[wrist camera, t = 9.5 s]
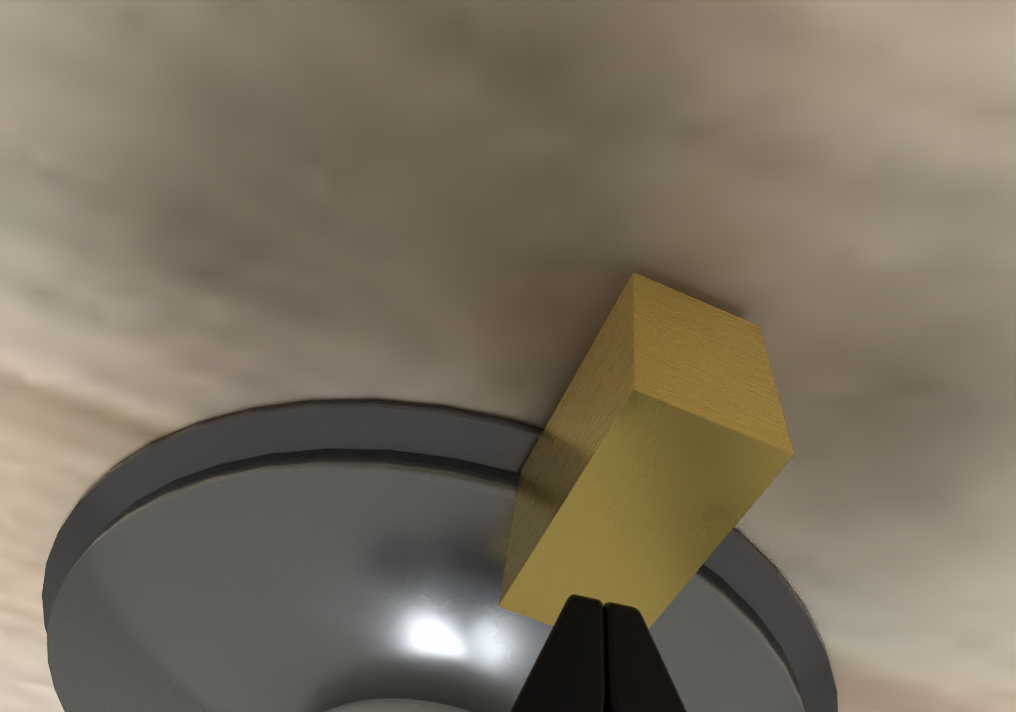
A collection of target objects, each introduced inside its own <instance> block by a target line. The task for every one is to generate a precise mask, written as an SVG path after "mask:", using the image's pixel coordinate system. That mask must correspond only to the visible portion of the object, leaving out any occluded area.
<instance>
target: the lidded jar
mask: <svg viewBox="0 0 1016 712" xmlns="http://www.w3.org/2000/svg"><path fill="white" fill-rule="evenodd" d="M324 712H470V711H467V710H464V709H461V708H458V707H454V706H449V705H445V704H440V703H436V702H430V701H423V700H415V699H399V698H382V699H367V700H362V701H356V702H351V703H347V704H343V705H340V706H337V707H334V708H331V709H329V710H327V711H324Z"/></svg>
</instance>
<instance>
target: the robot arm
mask: <svg viewBox="0 0 1016 712" xmlns="http://www.w3.org/2000/svg"><path fill="white" fill-rule="evenodd" d="M510 712H687V711H686V708H685V706H684V704H683V702H682V700H681V698H680V695H679V693H678V691H677V689H676V687H675V685H674V683H673V680H672V678H671V676H670V674H669V672H668V670H667V668H666V665H665V663H664V661H663V659H662V657H661V655H660V653H659V650H658V648H657V646H656V644H655V642H654V640H653V638H652V635H651V633H650V631H649V629H648V627H647V625H646V623H645V620H644V618H643V616H642V614H641V612H640V611H639V610H638V609H637V608H635V607H632V606H627V605H623V604H618V603H613V602H607V603H605V604H604V605H603V603H602V602H601V601H600V600H598V599H595V598H590V597H585V596H581V595H576V594H572V595H570V596H569V597H568V599H567V600H566V602H565V604H564V606H563V608H562V610H561V612H560V614H559V616H558V618H557V620H556V622H555V624H554V626H553V628H552V630H551V632H550V634H549V636H548V638H547V640H546V642H545V644H544V645H543V647H542V649H541V651H540V653H539V655H538V657H537V659H536V661H535V663H534V665H533V667H532V669H531V671H530V673H529V675H528V677H527V679H526V681H525V683H524V685H523V687H522V689H521V691H520V693H519V694H518V696H517V698H516V700H515V702H514V704H513V706H512V708H511V710H510Z"/></svg>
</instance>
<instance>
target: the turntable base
mask: <svg viewBox="0 0 1016 712" xmlns="http://www.w3.org/2000/svg"><path fill="white" fill-rule="evenodd" d="M543 431H544V430H542V429H539V428H536V427H533V426H529V425H526V424H523V423H520V422H516V421H513V420H509V419H504V418H499V417H494V416H489V415H484V414H479V413H474V412H469V411H464V410H459V409H454V408H449V407H444V406H434V405H423V404H413V403H402V402H391V401H381V400H346V401H307V402H300V403H292V404H285V405H277V406H269V407H262V408H254V409H249V410H245V411H241V412H238V413H234V414H230V415H226V416H222V417H219V418H215V419H211V420H207V421H203V422H200V423H197V424H194V425H192V426H190V427H187V428H185V429H182V430H180V431H178V432H175V433H173V434H171V435H168V436H166V437H164V438H161V439H159V440H157V441H154V442H152V443H150V444H149V445H147V446H146V447H144V448H143V449H141V450H139V451H138V452H136V453H135V454H133V455H132V456H130V457H128V458H127V459H125V460H124V461H122V462H121V463H119V464H118V465H116V466H114V467H113V468H112V469H111V470H110V471H109V472H108V473H107V474H106V475H105V476H104V477H103V478H102V479H101V480H100V481H99V482H98V483H96V484H95V485H94V486H93V487H92V488H91V489H90V490H89V491H88V492H87V493H86V494H85V495H84V496H83V498H82V499H81V500H80V501H79V502H78V504H77V505H76V507H75V508H74V510H73V511H72V513H71V514H70V516H69V517H68V519H67V520H66V522H65V523H64V524H63V526H62V527H61V529H60V530H59V532H58V534H57V537H56V539H55V542H54V544H53V547H52V550H51V552H50V555H49V558H48V560H47V563H46V569H45V577H44V584H43V591H42V600H43V612H44V624H45V629H46V632H47V630H48V625H49V620H50V616H51V611H52V606H53V603H54V601H55V599H56V596H57V594H58V592H59V590H60V588H61V586H62V584H63V582H64V580H65V578H66V576H67V575H68V573H69V572H70V571H71V569H72V568H73V567H74V565H75V564H76V563H77V561H78V560H79V559H80V557H81V556H82V555H83V553H84V552H85V551H86V549H87V548H88V547H89V546H90V545H91V543H92V542H93V541H94V540H95V538H96V537H97V536H98V535H99V534H100V532H101V531H102V530H103V529H104V527H105V526H106V525H107V524H108V523H109V522H110V521H112V520H113V519H114V518H115V517H117V516H118V515H119V514H120V513H122V512H123V511H124V510H125V509H127V508H128V507H129V506H130V505H132V504H133V503H134V502H135V501H137V500H138V499H140V498H142V497H144V496H146V495H148V494H149V493H151V492H153V491H155V490H157V489H159V488H161V487H162V486H164V485H166V484H168V483H170V482H172V481H173V480H176V479H179V478H182V477H184V476H187V475H190V474H193V473H196V472H198V471H201V470H204V469H207V468H210V467H213V466H215V465H218V464H222V463H227V462H232V461H237V460H241V459H246V458H251V457H256V456H261V455H265V454H270V453H281V452H292V451H304V450H315V449H327V448H332V449H378V450H395V451H403V452H411V453H419V454H427V455H435V456H443V457H451V458H456V459H460V460H465V461H469V462H474V463H478V464H483V465H487V466H491V467H496V468H500V469H505V470H509V471H513V472H517V473H521V470H522V468H523V466H524V464H525V463H526V461H527V459H528V457H529V456H530V454H531V452H532V450H533V448H534V447H535V445H536V443H537V441H538V440H539V438H540V436H541V434H542V433H543ZM703 564H704V565H706V566H707V567H708V568H710V569H711V570H712V571H714V572H715V573H716V574H718V575H719V576H720V577H722V578H723V579H724V580H725V581H726V582H727V583H728V584H729V585H730V586H731V587H732V588H733V589H734V590H735V591H736V592H737V593H738V594H739V595H740V596H741V597H742V598H743V599H744V600H745V601H746V602H747V603H748V604H749V605H750V606H751V607H752V608H753V609H754V610H755V611H756V612H757V614H758V615H759V617H760V618H761V619H762V621H763V622H764V623H765V625H766V626H767V628H768V629H769V630H770V632H771V633H772V634H773V636H774V637H775V638H776V640H777V641H778V643H779V644H780V645H781V647H782V649H783V651H784V653H785V655H786V657H787V659H788V661H789V663H790V666H791V668H792V670H793V672H794V674H795V676H796V678H797V680H798V684H799V688H800V692H801V696H802V700H803V704H804V708H805V712H838V707H837V690H836V686H835V682H834V678H833V674H832V671H831V667H830V663H829V659H828V656H827V652H826V648H825V645H824V642H823V640H822V638H821V636H820V634H819V632H818V630H817V628H816V626H815V625H814V623H813V621H812V619H811V617H810V615H809V613H808V611H807V609H806V607H805V605H804V604H803V603H802V601H801V600H800V599H799V597H798V596H797V595H796V593H795V592H794V591H793V589H792V588H791V587H790V585H789V584H788V583H787V581H786V580H785V579H784V577H783V576H782V575H781V573H780V572H779V571H778V569H777V568H776V567H775V566H774V565H773V564H772V563H771V562H770V561H769V560H768V559H767V558H766V557H765V556H764V555H762V554H761V553H760V552H759V551H758V550H757V549H756V548H755V547H754V546H753V545H752V544H751V543H750V542H749V541H748V540H747V539H746V538H745V537H744V536H743V535H742V534H741V533H740V532H739V531H737V530H736V529H735V528H733V529H732V530H731V531H730V532H729V533H728V535H727V536H726V537H725V538H724V539H723V541H722V542H721V543H720V544H719V545H718V547H717V548H716V549H715V550H714V551H713V553H712V554H711V555H710V556H709V557H708V559H707V560H706V561H705V562H704V563H703Z"/></svg>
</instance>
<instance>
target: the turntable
mask: <svg viewBox="0 0 1016 712" xmlns="http://www.w3.org/2000/svg"><path fill="white" fill-rule="evenodd" d="M793 456H794V453H793V449H792V445H791V441H790V438H789V434H788V430H787V426H786V423H785V419H784V415H783V412H782V408H781V404H780V400H779V397H778V393H777V389H776V385H775V382H774V378H773V374H772V371H771V367H770V363H769V359H768V356H767V352H766V348H765V345H764V341H763V337H762V333H761V330H760V326H758V325H756V324H754V323H751V322H749V321H747V320H744V319H742V318H740V317H737V316H735V315H733V314H730V313H728V312H726V311H723V310H721V309H719V308H716V307H714V306H712V305H709V304H707V303H704V302H702V301H700V300H697V299H695V298H693V297H690V296H688V295H686V294H683V293H681V292H679V291H676V290H674V289H672V288H669V287H667V286H665V285H662V284H660V283H658V282H655V281H653V280H651V279H648V278H646V277H643V276H641V275H639V274H636V273H634V272H633V273H632V275H631V277H630V278H629V280H628V282H627V284H626V286H625V287H624V289H623V291H622V293H621V294H620V296H619V298H618V300H617V301H616V303H615V305H614V307H613V309H612V310H611V312H610V314H609V316H608V317H607V319H606V321H605V323H604V324H603V326H602V328H601V330H600V332H599V333H598V335H597V337H596V339H595V340H594V342H593V344H592V346H591V348H590V349H589V351H588V353H587V355H586V356H585V358H584V360H583V362H582V363H581V365H580V367H579V369H578V371H577V372H576V374H575V376H574V378H573V379H572V381H571V383H570V385H569V386H568V388H567V390H566V392H565V394H564V395H563V397H562V399H561V401H560V402H559V404H558V406H557V408H556V410H555V411H554V413H553V415H552V417H551V418H550V420H549V422H548V424H547V425H546V427H545V429H544V431H543V433H542V434H541V436H540V438H539V440H538V441H537V443H536V445H535V447H534V448H533V450H532V452H531V454H530V456H529V457H528V459H527V461H526V463H525V464H524V466H523V468H522V470H521V473H517V472H513V471H509V470H505V469H500V468H496V467H491V466H487V465H483V464H478V463H474V462H469V461H465V460H460V459H456V458H451V457H443V456H435V455H427V454H419V453H411V452H403V451H395V450H378V449H332V448H327V449H315V450H304V451H292V452H281V453H270V454H265V455H261V456H256V457H251V458H246V459H241V460H237V461H232V462H227V463H222V464H218V465H215V466H213V467H210V468H207V469H204V470H201V471H198V472H196V473H193V474H190V475H187V476H184V477H182V478H179V479H176V480H173V481H172V482H170V483H168V484H166V485H164V486H162V487H161V488H159V489H157V490H155V491H153V492H151V493H149V494H148V495H146V496H144V497H142V498H140V499H138V500H137V501H135V502H134V503H133V504H132V505H130V506H129V507H128V508H127V509H125V510H124V511H123V512H122V513H120V514H119V515H118V516H117V517H115V518H114V519H113V520H112V521H110V522H109V523H108V524H107V525H106V526H105V527H104V529H103V530H102V531H101V532H100V534H99V535H98V536H97V537H96V538H95V540H94V541H93V542H92V543H91V545H90V546H89V547H88V548H87V549H86V551H85V552H84V553H83V555H82V556H81V557H80V559H79V560H78V561H77V563H76V564H75V565H74V567H73V568H72V569H71V571H70V572H69V573H68V575H67V576H66V578H65V580H64V582H63V584H62V586H61V588H60V590H59V592H58V594H57V596H56V599H55V601H54V603H53V606H52V611H51V616H50V620H49V625H48V630H47V649H48V664H49V668H50V672H51V676H52V680H53V684H54V688H55V691H56V693H57V696H58V698H59V700H60V702H61V705H62V707H63V709H64V711H65V712H324V711H327V710H329V709H331V708H334V707H337V706H340V705H343V704H347V703H351V702H356V701H362V700H367V699H382V698H399V699H415V700H423V701H430V702H436V703H440V704H445V705H449V706H454V707H458V708H461V709H464V710H467V711H470V712H510V710H511V708H512V706H513V704H514V702H515V700H516V698H517V696H518V694H519V693H520V691H521V689H522V687H523V685H524V683H525V681H526V679H527V677H528V675H529V673H530V671H531V669H532V667H533V665H534V663H535V661H536V659H537V657H538V655H539V653H540V651H541V649H542V647H543V645H544V644H545V642H546V640H547V638H548V636H549V634H550V632H551V630H552V628H553V626H554V624H555V622H556V620H557V618H558V616H559V614H560V612H561V610H562V608H563V606H564V604H565V602H566V600H567V599H568V597H569V596H570V595H572V594H576V595H581V596H585V597H590V598H595V599H598V600H600V601H601V602H602V603H603V605H604V604H605V603H607V602H613V603H618V604H623V605H627V606H632V607H635V608H637V609H638V610H639V611H640V612H641V614H642V616H643V618H644V620H645V623H646V625H647V627H648V629H649V631H650V633H651V635H652V638H653V640H654V642H655V644H656V646H657V648H658V650H659V653H660V655H661V657H662V659H663V661H664V663H665V665H666V668H667V670H668V672H669V674H670V676H671V678H672V680H673V683H674V685H675V687H676V689H677V691H678V693H679V695H680V698H681V700H682V702H683V704H684V706H685V708H686V711H687V712H805V708H804V704H803V700H802V696H801V692H800V688H799V684H798V680H797V678H796V676H795V674H794V672H793V670H792V668H791V666H790V663H789V661H788V659H787V657H786V655H785V653H784V651H783V649H782V647H781V645H780V644H779V643H778V641H777V640H776V638H775V637H774V636H773V634H772V633H771V632H770V630H769V629H768V628H767V626H766V625H765V623H764V622H763V621H762V619H761V618H760V617H759V615H758V614H757V612H756V611H755V610H754V609H753V608H752V607H751V606H750V605H749V604H748V603H747V602H746V601H745V600H744V599H743V598H742V597H741V596H740V595H739V594H738V593H737V592H736V591H735V590H734V589H733V588H732V587H731V586H730V585H729V584H728V583H727V582H726V581H725V580H724V579H723V578H722V577H720V576H719V575H718V574H716V573H715V572H714V571H712V570H711V569H710V568H708V567H707V566H706V565H704V564H703V563H704V562H705V561H706V560H707V559H708V557H709V556H710V555H711V554H712V553H713V551H714V550H715V549H716V548H717V547H718V545H719V544H720V543H721V542H722V541H723V539H724V538H725V537H726V536H727V535H728V533H729V532H730V531H731V530H732V529H733V528H734V526H735V525H736V524H737V523H738V522H739V520H740V519H741V518H742V517H743V516H744V514H745V513H746V512H747V511H748V510H749V508H750V507H751V506H752V505H753V504H754V502H755V501H756V500H757V499H758V498H759V496H760V495H761V494H762V493H763V492H764V490H765V489H766V488H767V487H768V486H769V484H770V483H771V482H772V481H773V480H774V478H775V477H776V476H777V475H778V474H779V472H780V471H781V470H782V469H783V468H784V466H785V465H786V464H787V463H788V462H789V460H790V459H791V458H792V457H793Z"/></svg>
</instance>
